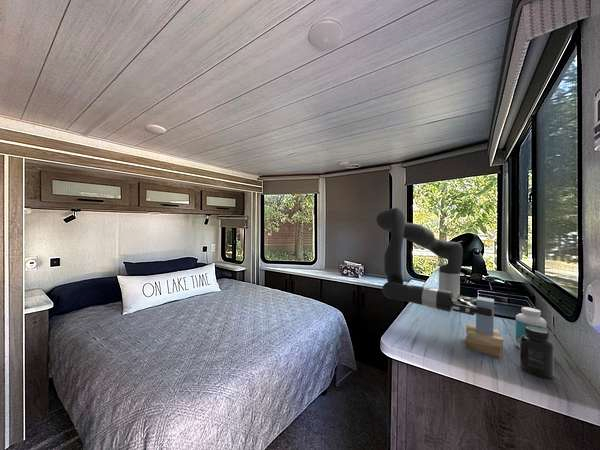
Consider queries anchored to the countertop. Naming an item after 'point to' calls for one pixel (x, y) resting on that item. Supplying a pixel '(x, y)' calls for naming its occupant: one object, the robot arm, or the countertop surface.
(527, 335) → the supplement bottle
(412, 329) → the countertop surface
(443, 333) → the countertop surface
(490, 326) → the pillar
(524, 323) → the pill bottle
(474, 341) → the tower top
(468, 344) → the tower base
